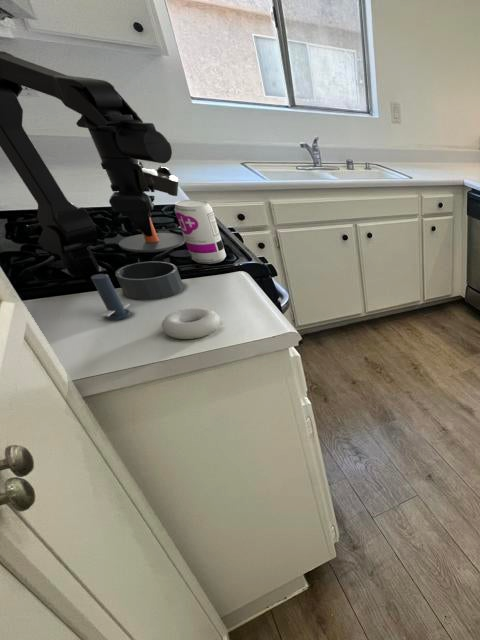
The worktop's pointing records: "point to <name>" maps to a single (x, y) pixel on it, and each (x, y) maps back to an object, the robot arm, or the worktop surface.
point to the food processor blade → (110, 298)
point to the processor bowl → (149, 280)
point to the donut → (191, 323)
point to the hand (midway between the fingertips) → (149, 234)
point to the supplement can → (200, 231)
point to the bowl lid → (151, 242)
